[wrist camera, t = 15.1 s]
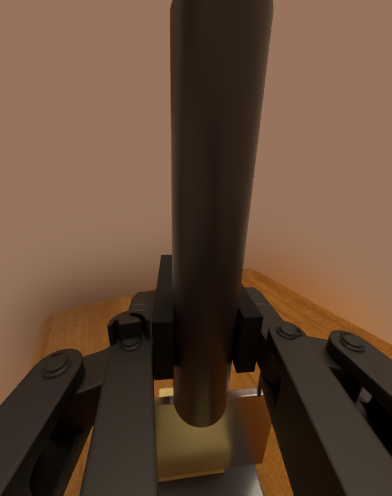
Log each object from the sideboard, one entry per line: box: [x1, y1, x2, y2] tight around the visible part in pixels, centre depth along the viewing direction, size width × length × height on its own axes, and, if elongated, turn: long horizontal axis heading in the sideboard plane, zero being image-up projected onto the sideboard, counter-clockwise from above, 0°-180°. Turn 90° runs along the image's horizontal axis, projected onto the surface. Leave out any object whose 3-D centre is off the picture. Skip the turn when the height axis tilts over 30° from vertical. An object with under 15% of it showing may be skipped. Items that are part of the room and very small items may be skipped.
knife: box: [154, 0, 273, 478], centre depth 8 cm, size 8×3×20 cm, turn 97°
